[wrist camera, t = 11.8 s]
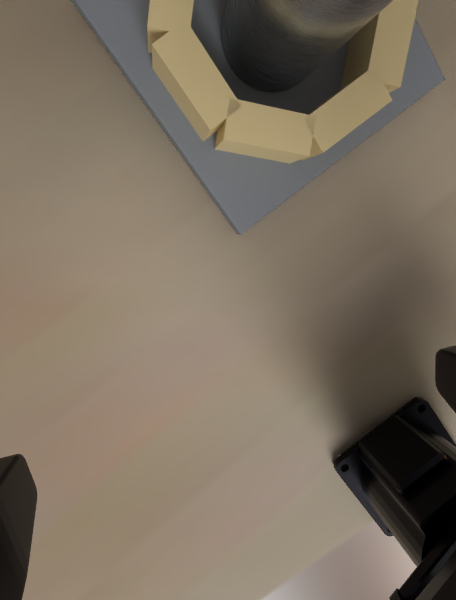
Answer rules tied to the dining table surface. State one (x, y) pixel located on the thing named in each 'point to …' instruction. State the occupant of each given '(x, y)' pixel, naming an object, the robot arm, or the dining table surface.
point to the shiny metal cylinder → (288, 37)
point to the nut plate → (260, 96)
